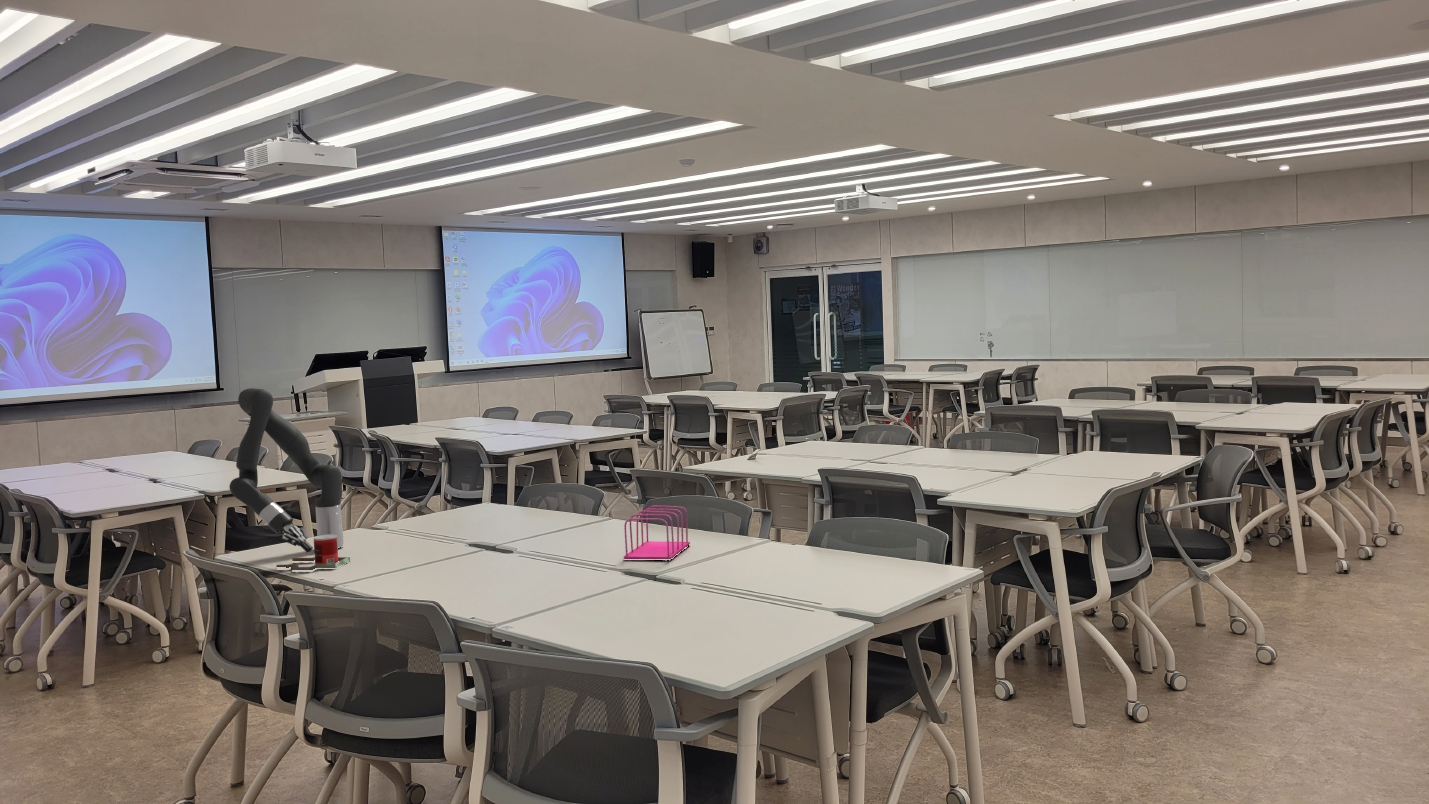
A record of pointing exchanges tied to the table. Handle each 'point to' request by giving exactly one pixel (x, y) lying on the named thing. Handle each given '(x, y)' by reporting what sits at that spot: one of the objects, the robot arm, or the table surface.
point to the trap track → (295, 566)
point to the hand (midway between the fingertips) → (310, 550)
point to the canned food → (326, 549)
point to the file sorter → (657, 547)
